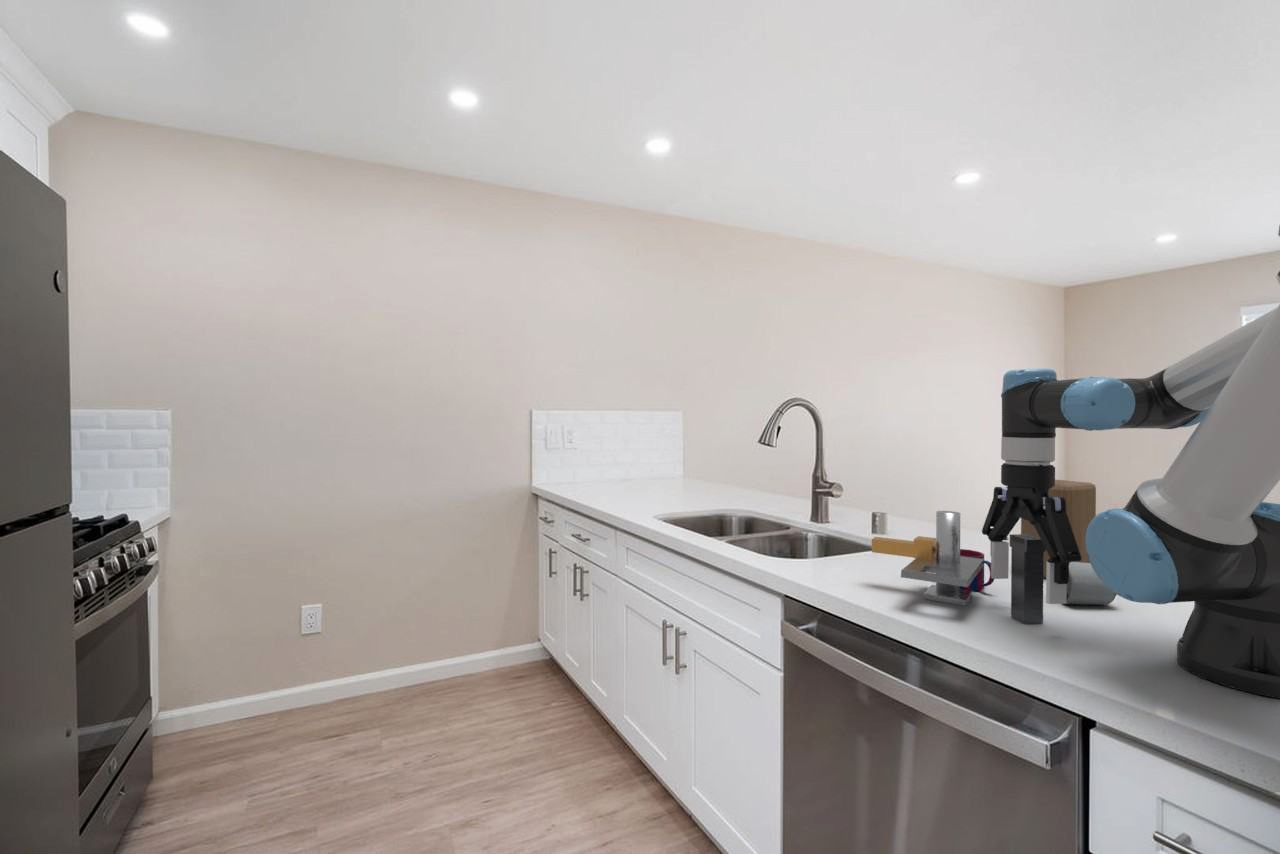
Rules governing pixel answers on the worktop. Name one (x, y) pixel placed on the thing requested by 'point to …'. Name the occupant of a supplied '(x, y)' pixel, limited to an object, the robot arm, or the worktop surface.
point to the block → (1071, 513)
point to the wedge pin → (1027, 578)
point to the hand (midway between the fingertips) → (1025, 590)
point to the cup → (979, 579)
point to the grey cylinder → (1086, 586)
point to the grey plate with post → (936, 560)
